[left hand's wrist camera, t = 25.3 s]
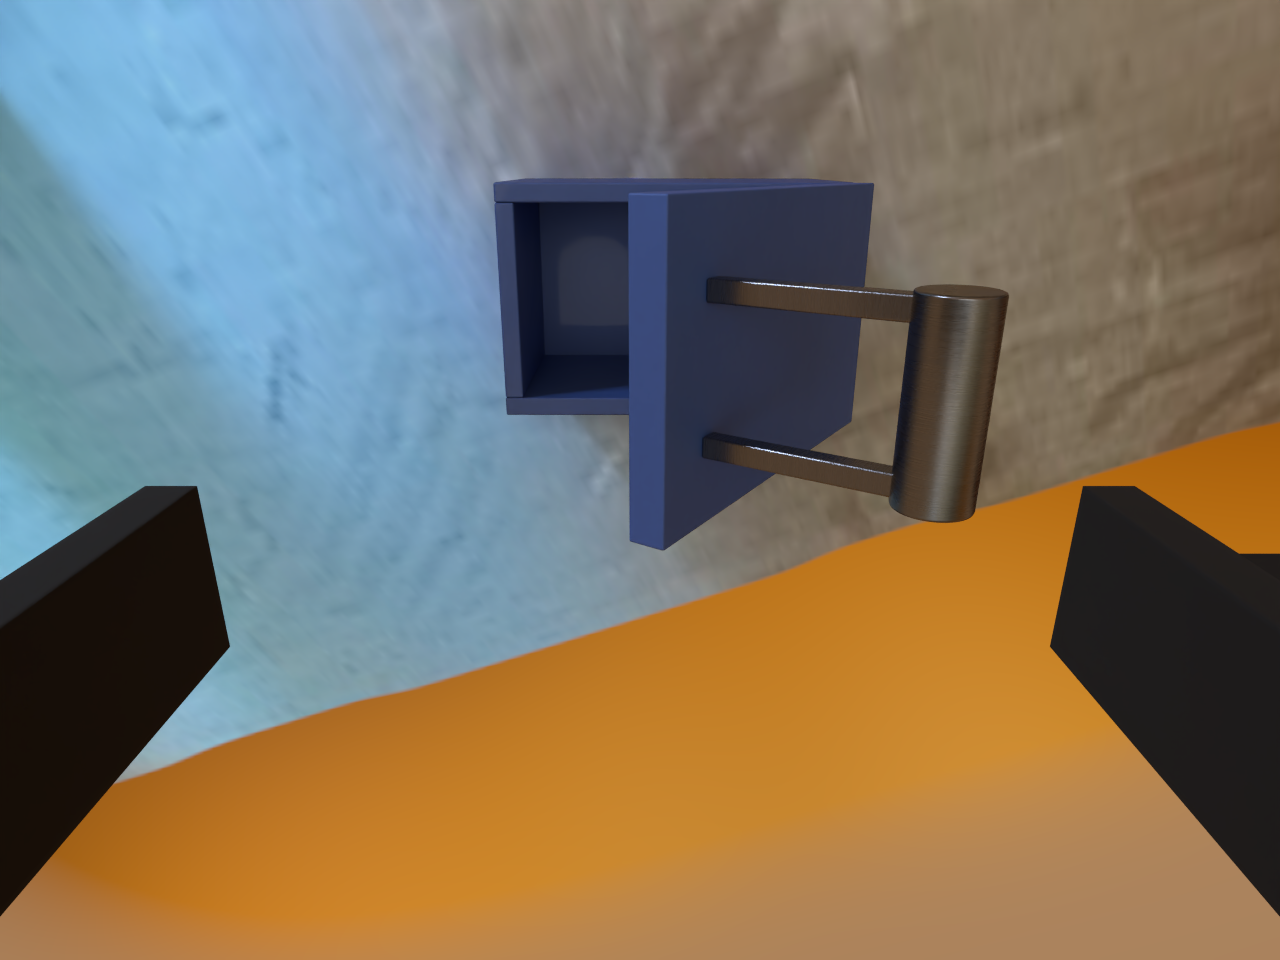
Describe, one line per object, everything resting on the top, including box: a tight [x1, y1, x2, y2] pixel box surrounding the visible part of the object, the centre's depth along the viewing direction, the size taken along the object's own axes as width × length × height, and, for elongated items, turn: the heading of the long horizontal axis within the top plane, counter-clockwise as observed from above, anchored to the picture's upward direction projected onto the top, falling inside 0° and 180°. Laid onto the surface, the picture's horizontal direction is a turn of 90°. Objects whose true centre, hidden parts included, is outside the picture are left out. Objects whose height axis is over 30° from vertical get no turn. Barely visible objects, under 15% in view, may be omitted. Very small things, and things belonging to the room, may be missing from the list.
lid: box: [628, 183, 1009, 550], centre depth 27 cm, size 16×10×9 cm
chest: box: [494, 179, 852, 415], centre depth 40 cm, size 15×10×10 cm, turn 90°
